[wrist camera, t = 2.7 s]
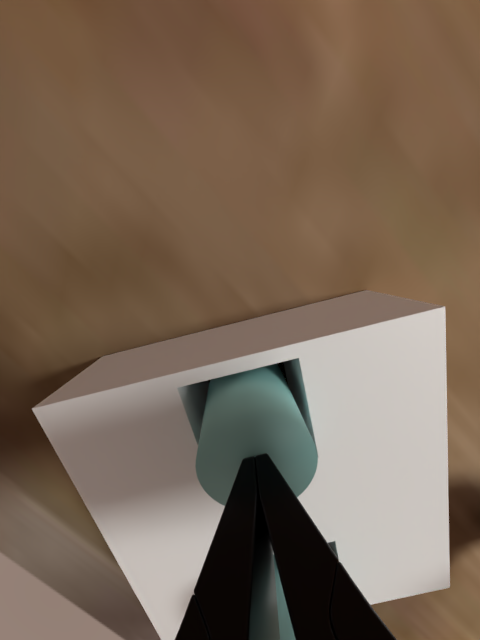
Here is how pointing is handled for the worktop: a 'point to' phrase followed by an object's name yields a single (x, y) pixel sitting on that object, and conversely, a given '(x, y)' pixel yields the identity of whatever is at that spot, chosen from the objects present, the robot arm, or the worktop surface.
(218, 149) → the worktop surface
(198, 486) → the socket board
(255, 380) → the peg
